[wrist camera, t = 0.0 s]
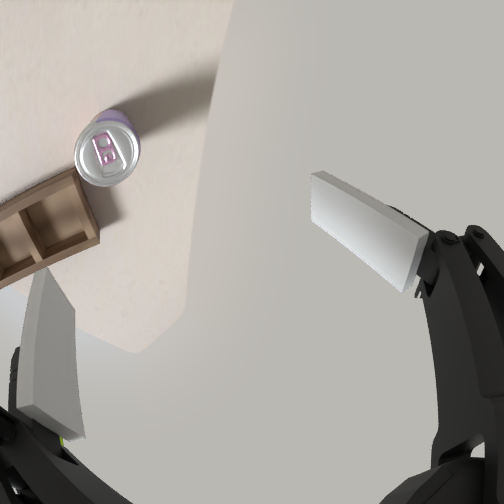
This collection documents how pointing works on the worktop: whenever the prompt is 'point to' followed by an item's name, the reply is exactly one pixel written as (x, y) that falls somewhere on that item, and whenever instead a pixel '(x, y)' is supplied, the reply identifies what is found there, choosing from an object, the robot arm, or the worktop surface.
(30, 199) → the can caddy
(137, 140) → the beverage can
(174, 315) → the worktop surface
